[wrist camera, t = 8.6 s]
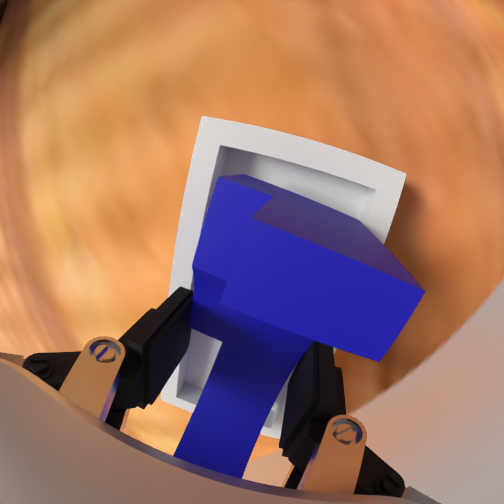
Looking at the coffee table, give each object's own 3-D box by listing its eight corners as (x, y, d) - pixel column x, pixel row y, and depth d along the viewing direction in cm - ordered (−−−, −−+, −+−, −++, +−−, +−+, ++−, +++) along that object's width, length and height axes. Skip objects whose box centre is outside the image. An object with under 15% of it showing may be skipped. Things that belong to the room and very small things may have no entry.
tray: (217, 123, 11) (201, 116, 9) (390, 172, 10) (406, 173, 9) (172, 380, 17) (161, 399, 15) (284, 416, 16) (281, 439, 14)
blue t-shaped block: (243, 173, 10) (159, 184, 4) (359, 220, 9) (425, 291, 4) (178, 388, 14) (131, 467, 8) (251, 417, 13) (225, 505, 8)
